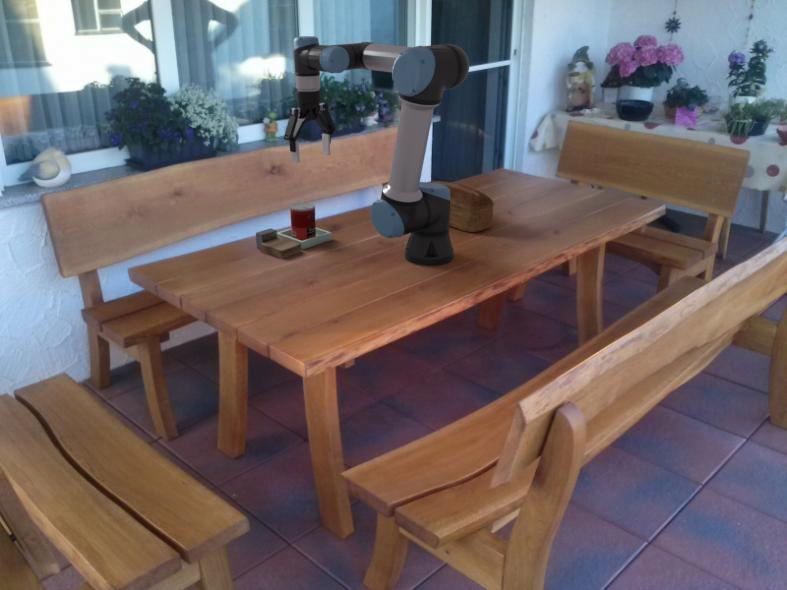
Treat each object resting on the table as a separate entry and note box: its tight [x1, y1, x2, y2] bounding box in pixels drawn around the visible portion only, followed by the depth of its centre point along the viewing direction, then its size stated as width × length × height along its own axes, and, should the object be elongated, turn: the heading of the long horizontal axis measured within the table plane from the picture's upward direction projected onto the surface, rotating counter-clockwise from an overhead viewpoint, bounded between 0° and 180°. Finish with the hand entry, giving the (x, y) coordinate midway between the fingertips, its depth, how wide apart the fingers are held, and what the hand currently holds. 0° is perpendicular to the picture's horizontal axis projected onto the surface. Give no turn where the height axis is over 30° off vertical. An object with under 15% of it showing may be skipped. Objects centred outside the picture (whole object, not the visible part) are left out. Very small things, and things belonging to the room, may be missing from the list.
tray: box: [277, 227, 333, 251], centre depth 245 cm, size 13×13×2 cm
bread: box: [429, 180, 495, 233], centre depth 262 cm, size 12×31×14 cm, turn 44°
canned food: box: [289, 202, 317, 241], centre depth 243 cm, size 8×8×11 cm
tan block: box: [259, 237, 302, 259], centre depth 236 cm, size 10×8×3 cm
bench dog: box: [255, 228, 278, 250], centre depth 239 cm, size 3×6×5 cm, turn 138°
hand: (311, 158), depth 239 cm, fingers open, 13 cm apart
